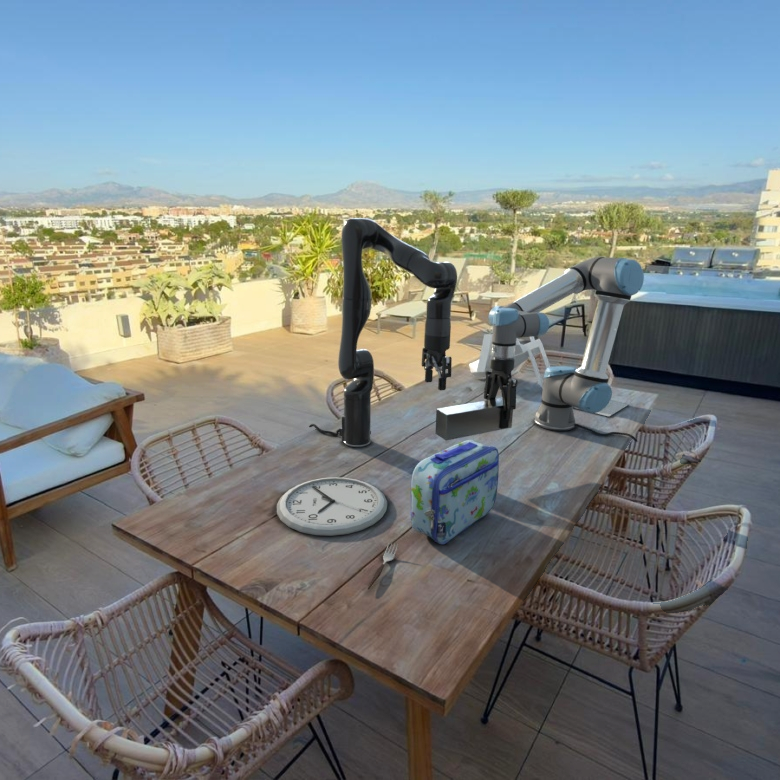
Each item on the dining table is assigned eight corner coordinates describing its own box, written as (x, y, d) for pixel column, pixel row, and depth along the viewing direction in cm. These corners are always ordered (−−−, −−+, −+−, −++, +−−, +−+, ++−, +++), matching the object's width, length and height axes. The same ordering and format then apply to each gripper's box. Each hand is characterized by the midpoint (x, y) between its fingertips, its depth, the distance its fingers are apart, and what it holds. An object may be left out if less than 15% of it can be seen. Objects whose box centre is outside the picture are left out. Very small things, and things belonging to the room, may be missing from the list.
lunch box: (436, 553, 122) (441, 472, 116) (403, 535, 129) (406, 457, 123) (500, 514, 140) (507, 441, 133) (468, 499, 147) (473, 430, 141)
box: (499, 421, 179) (501, 397, 176) (511, 427, 173) (513, 403, 171) (435, 433, 168) (436, 408, 165) (445, 440, 162) (447, 414, 160)
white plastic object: (490, 419, 265) (470, 397, 240) (471, 347, 287) (451, 319, 262) (561, 395, 253) (548, 369, 228) (536, 321, 275) (521, 290, 250)
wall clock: (392, 527, 129) (268, 531, 127) (391, 533, 130) (269, 537, 127) (383, 473, 158) (282, 475, 155) (383, 478, 158) (282, 480, 156)
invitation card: (608, 416, 214) (573, 407, 224) (608, 416, 214) (573, 408, 224) (628, 404, 229) (594, 396, 238) (628, 405, 229) (594, 397, 238)
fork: (362, 589, 110) (362, 581, 109) (388, 548, 124) (388, 541, 123) (373, 592, 109) (373, 584, 108) (398, 550, 123) (399, 543, 122)
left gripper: (415, 329, 157) (413, 380, 162) (437, 338, 144) (435, 394, 149) (437, 327, 160) (435, 378, 165) (461, 336, 147) (458, 391, 152)
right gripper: (475, 351, 174) (471, 416, 181) (513, 365, 158) (507, 436, 164) (493, 349, 177) (489, 413, 184) (532, 362, 161) (525, 432, 168)
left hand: (435, 385), depth 157 cm, fingers open, 8 cm apart
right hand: (497, 424), depth 174 cm, fingers closed on box, 6 cm apart
